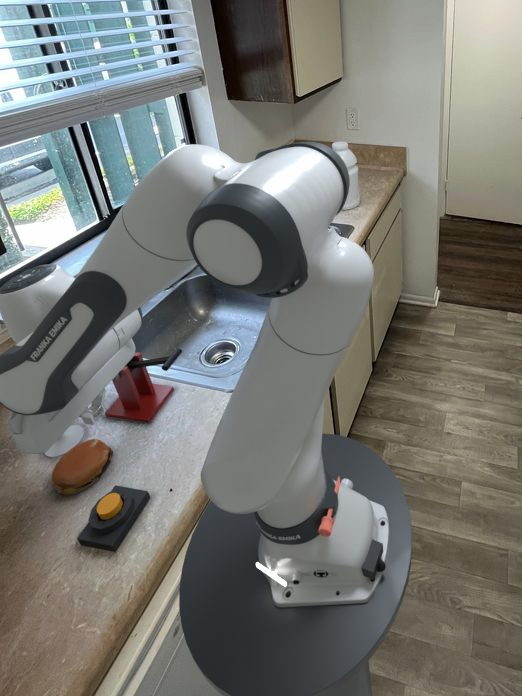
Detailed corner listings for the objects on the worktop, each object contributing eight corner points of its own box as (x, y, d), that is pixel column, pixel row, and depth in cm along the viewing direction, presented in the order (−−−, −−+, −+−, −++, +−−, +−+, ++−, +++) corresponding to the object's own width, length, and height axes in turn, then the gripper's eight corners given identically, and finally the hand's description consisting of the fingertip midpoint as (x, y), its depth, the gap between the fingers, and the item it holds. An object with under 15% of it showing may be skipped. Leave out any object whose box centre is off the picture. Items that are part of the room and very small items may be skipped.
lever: (184, 354, 96) (179, 346, 95) (170, 372, 92) (164, 364, 91) (132, 362, 100) (126, 354, 100) (116, 379, 96) (110, 371, 95)
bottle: (330, 212, 186) (323, 150, 173) (327, 198, 198) (321, 139, 186) (362, 208, 188) (358, 147, 176) (358, 194, 201) (354, 136, 188)
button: (127, 500, 80) (124, 494, 79) (112, 521, 77) (109, 516, 76) (109, 496, 80) (107, 491, 80) (94, 518, 77) (91, 512, 76)
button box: (150, 497, 84) (145, 485, 82) (115, 552, 76) (108, 540, 74) (118, 491, 85) (112, 479, 83) (80, 545, 77) (72, 532, 75)
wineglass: (93, 427, 97) (60, 358, 88) (64, 461, 90) (24, 390, 81) (64, 422, 98) (28, 353, 89) (33, 455, 91) (-9, 384, 82)
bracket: (174, 389, 106) (159, 347, 100) (149, 423, 98) (131, 379, 92) (133, 384, 107) (117, 342, 101) (105, 416, 99) (85, 373, 93)
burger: (45, 499, 84) (36, 484, 82) (74, 451, 92) (67, 437, 90) (99, 494, 84) (91, 479, 82) (123, 447, 93) (116, 433, 91)
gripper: (22, 419, 59) (59, 482, 65) (130, 315, 77) (151, 371, 83) (-18, 414, 60) (23, 476, 66) (98, 312, 78) (122, 368, 84)
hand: (95, 416), depth 75 cm, fingers closed
